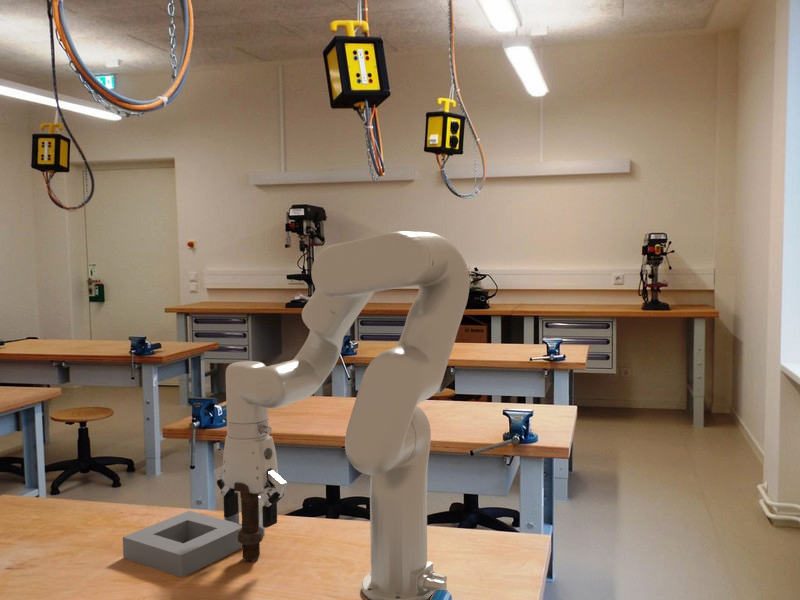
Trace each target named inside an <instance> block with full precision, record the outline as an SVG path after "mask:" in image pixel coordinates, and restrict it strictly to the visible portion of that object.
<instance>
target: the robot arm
mask: <svg viewBox="0 0 800 600" xmlns="http://www.w3.org/2000/svg"><path fill="white" fill-rule="evenodd" d="M310 273H311V280H312V284H313V285H314V288H316V289H315V290H314V292H313V293H312V295H311V297H310V298H309V299H308V301H307V302H306V304H305V305H304V307H303V309H302V311H301V318H302V321H303V323H304V324H305V326H306V327H307V328H308V329H309V333H308V336H307V337H306V340H305V342H304V344H303V345H302V347H301V348H300V350H299V351H298V353H297V354H296V355H295V356H294V358H293V359H292V360H288V361H287V360H286V361H283V362H280V363H275V364H272V365H268V366H266V364H265V363H263V362H261V361H258V360H257V361H255V360H254V361H252V360H245V361H244V360H243V361H236V362H233V363H230V364H229V365H227V367H226V368H225V369H226V370H225V398H226V399H225V400H226V401H225V402H226V403H225V404H226V434H227V435H226V436H225V439H224V447H223V455H222V456H223V457H222V458H223V459H222V465H221V466H219V467H217V468H214V470H213V474H214V477H215V479H216V485H217V487H218V488H219V489H220V495H221V497H223V518H224V517H226V518H228V517H230V516H233V515H235V514H237V513H238V512H239V513H240V508H239V509H238V503H239V493H238V492H239V491H234V484H235V483H236V482H238V483H242V484H245V485H247V486H248V489H249V492H250V493H253V494H259V495H260V497H261V498H262V500H263V502H264V506H263V507H262V517H263V527H264V528H265V529H268V528H269V527H271V526H273V525H275V524H277V523H278V503H280V501H281V499H283V497H284V495H285V492H286V489H287V487H288V483H287V481H286V480H284V479H283V478H282V477H281V475H279V471H278V460H277V451H276V446H275V441H274V438H273V436H271V435H270V434H271V432H272V430H273V429H272V426H270V425H269V424H270V423H269V422H270V421H269V409H273V410H274V409H279V408H284V407H286V406H289V405H292V404H293V403H296V402H299V401H303V400H305V399H307V398H310V397H312V396H313V394H315V393H316V392H317V391H318V390H319V389H320V387H321V386H322V385H323V384H324V382H325V381H326V380H327V378H328V377H329V375H330V374H331V372H332V371H333V369H335V366H336V364H337V362H338V360H339V359H340V355H341V352H342V348H343V344H344V338H345V335H346V334H347V333H348V331H349V329H350V328H351V327H352V326H353V324H354V322H355V321H356V319H357V318H358V316H359V315H360V313H361V312H362V310H363V309H364V308H365V306H366V305H367V304H368V303H369V301H370V299H371V298H372V296H373V295H374V294H375V293H376V292H382V291H386V290H387V291H388V290H394V289H400V288H407V287H408V288H409V287H417V286H418V292H417V295H416V297H415V299H414V300H413V302H412V305H411V306H410V307H409V311H408V313H407V316H406V320H405V323H404V326H403V330H402V333H401V335H400V338H399V340H398V342H397V344H396V346H395V347H393V348H390V349H386V350H384V351H382V352H381V353H379V354H378V355H376V356H375V357H374V358H373V359H372V360H371V361H370V363H369V364H368V366H367V368H366V369H365V371H364V373H363V376H362V379H361V382H360V384H359V388H358V391H357V394H356V397H355V400H354V403H353V404H354V405H353V407H352V410H351V413H350V416H349V420H348V424H347V428H346V431H345V436H344V437H345V438H344V449H345V454H346V456H347V458H348V461H349V462H350V464H351V465H352V466H353V468H354V469H355V470H357V471H358V472H359V473H361V474H364V475H367V476H370V482H369V483H370V485H369V511H370V512H369V515H370V516H369V517H370V518H369V522H370V523H369V525H370V527H369V529H370V572H369V573H368V574H366V575H365V577H363V579H362V581H361V589H362V590H361V591H362V593H363V594H364V596H365V597H367V599H368V600H429V599H430V598H431V597H432V596H431V594H432V592H433V591H434V590H436V589H445V590H447V587H448V585H447V580H448V579H447V578H448V577H447V575H444V574H440V573H435V570H434V562H433V561H428V470H429V469H428V468H429V467H428V465H429V457H430V450H431V443H432V442H431V441H432V440H431V439H432V433H431V432H432V431H431V426H430V422H429V418H428V416H427V415H426V413H425V412H424V410H423V409H422V408H421V407H419V406H418V404H421V403H423V402H424V401H426V400H428V399H431V397H432V396H435V394H436V393H437V392H438V391H439V389H440V388H441V385H442V383H443V380H444V377H445V373H446V370H447V367H448V365H449V361H450V357H451V355H452V352H453V348H454V345H455V342H456V338H457V335H458V332H459V328H460V325H461V322H462V320H463V316H464V314H465V311H466V310H465V309H466V307H467V304H468V299H469V293H470V286H471V285H470V273H469V269H468V266H467V262H466V261H465V258H464V257H463V254H462V253H461V252H460V251H459V249H458V248H457V247H456V246H455V245H454V244H453V243H452V242H451V241H449V240H448V239H447V238H446V237H444V236H442V235H439V234H436V233H433V232H426V231H392V232H386V233H382V234H377V235H373V236H369V237H364V238H360V239H355V240H350V241H345V242H339V243H334V244H330V245H329V246H327V247H325V248H323V249H322V250H321V251H319V253H318V254H317V255H316V256H315V258H314V260H313V263H312V265H311V272H310ZM268 494H269V495H268ZM269 496H270V497H269ZM430 596H431V597H430ZM429 597H430V598H429Z"/></svg>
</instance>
